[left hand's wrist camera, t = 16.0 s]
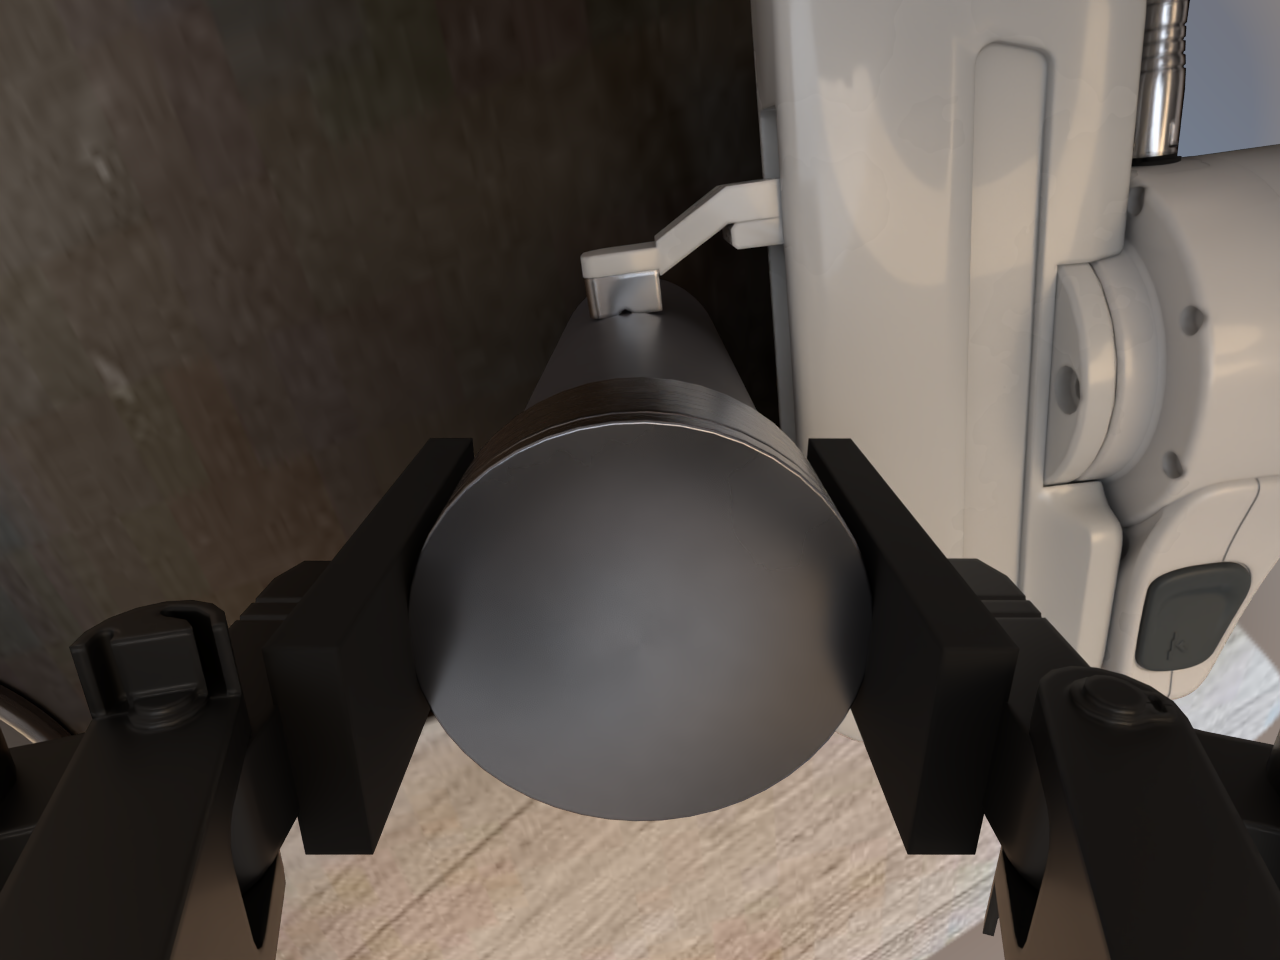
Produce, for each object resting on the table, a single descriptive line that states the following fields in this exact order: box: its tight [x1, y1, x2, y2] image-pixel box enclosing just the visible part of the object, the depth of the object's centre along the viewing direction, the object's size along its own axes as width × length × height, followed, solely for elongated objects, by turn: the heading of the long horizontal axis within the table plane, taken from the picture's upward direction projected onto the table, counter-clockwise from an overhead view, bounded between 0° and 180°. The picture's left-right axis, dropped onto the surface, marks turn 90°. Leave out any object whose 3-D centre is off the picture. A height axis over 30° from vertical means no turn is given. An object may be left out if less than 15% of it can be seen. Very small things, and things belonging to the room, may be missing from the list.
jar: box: [524, 279, 757, 411], centre depth 18 cm, size 5×5×16 cm
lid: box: [407, 377, 873, 821], centre depth 11 cm, size 6×6×2 cm
